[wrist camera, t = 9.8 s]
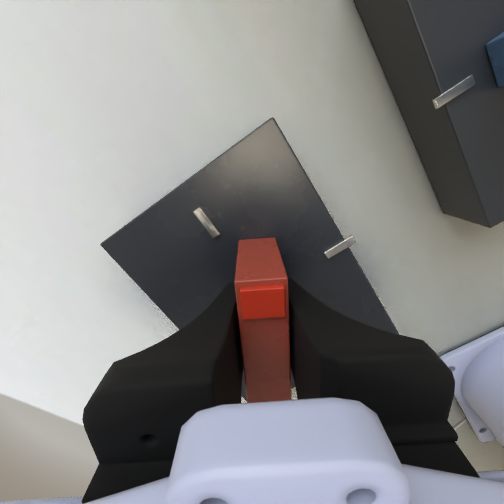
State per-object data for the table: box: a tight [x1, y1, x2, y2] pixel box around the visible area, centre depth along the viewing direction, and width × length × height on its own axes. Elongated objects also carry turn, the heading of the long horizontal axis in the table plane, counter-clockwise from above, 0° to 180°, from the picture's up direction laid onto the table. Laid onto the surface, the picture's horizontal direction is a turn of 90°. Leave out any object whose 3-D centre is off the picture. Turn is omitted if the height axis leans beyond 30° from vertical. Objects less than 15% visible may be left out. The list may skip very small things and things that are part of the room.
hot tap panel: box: [101, 117, 399, 401], centre depth 14 cm, size 12×10×3 cm
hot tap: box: [234, 237, 292, 403], centre depth 11 cm, size 6×2×4 cm, turn 4°
